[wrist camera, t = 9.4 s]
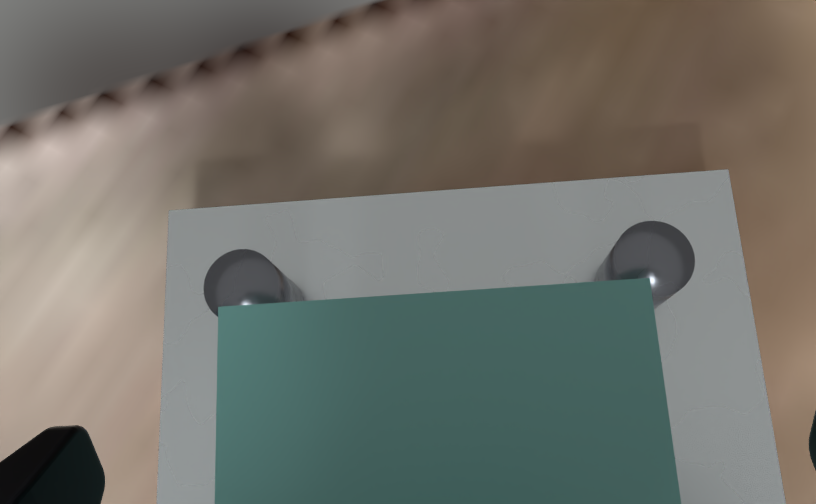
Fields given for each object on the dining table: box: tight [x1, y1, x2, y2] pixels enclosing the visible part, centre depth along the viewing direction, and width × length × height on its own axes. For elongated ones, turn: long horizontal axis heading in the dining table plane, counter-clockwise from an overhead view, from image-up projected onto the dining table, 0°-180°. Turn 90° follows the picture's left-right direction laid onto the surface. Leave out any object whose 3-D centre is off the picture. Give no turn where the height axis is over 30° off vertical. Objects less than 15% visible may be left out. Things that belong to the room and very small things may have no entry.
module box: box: [215, 278, 681, 504], centre depth 12 cm, size 5×5×9 cm
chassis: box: [157, 169, 786, 504], centre depth 16 cm, size 14×14×4 cm
